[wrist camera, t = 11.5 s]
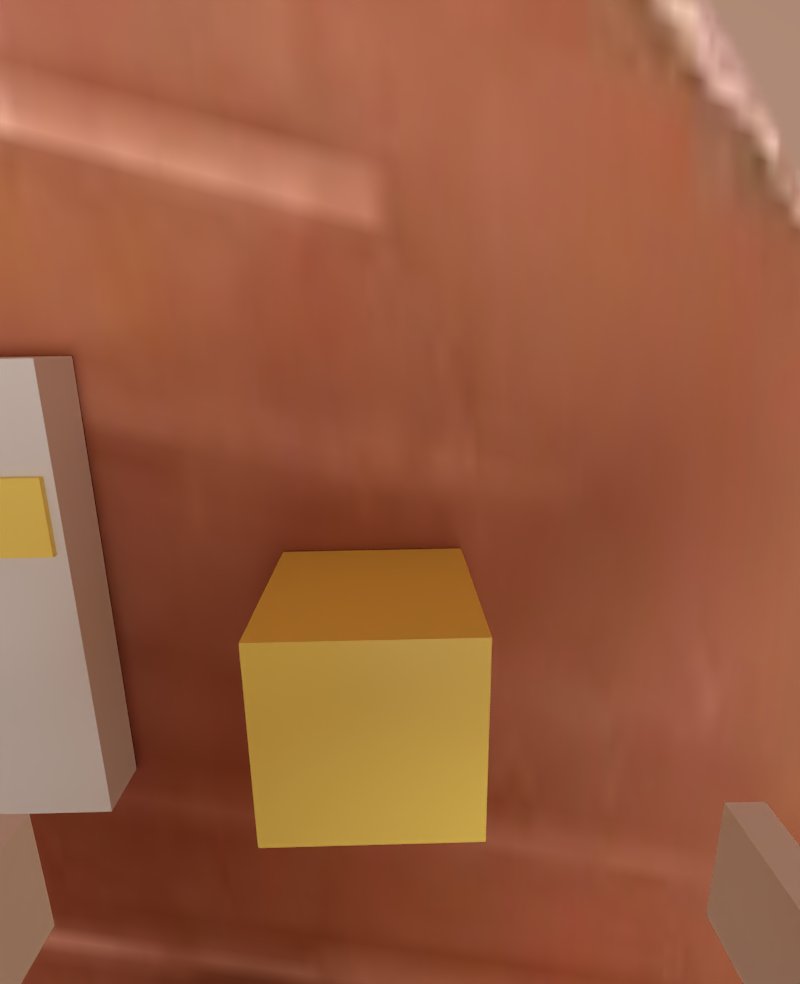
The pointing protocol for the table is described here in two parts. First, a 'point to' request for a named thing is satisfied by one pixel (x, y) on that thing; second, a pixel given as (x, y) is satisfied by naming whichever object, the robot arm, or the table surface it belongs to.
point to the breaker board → (54, 607)
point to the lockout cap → (368, 700)
